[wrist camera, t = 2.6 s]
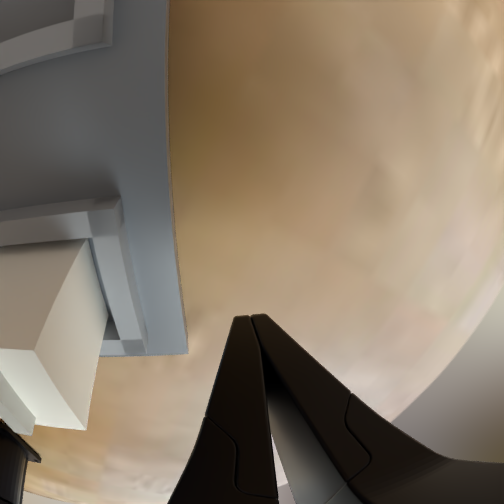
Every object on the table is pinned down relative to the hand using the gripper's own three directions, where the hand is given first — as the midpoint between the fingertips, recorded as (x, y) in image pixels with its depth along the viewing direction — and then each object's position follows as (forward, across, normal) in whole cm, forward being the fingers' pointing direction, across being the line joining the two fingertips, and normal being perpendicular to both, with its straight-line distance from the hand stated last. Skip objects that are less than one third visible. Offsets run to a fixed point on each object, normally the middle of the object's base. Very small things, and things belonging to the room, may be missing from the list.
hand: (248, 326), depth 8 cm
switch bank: (+4, +10, -5) cm, 12 cm away
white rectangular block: (+3, +6, 0) cm, 7 cm away
